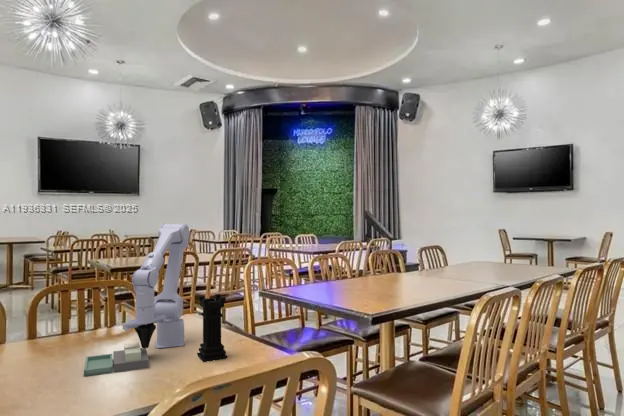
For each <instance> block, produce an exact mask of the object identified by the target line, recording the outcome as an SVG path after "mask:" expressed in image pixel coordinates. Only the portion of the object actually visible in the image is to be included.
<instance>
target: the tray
mask: <svg viewBox="0 0 624 416" xmlns="http://www.w3.org/2000/svg"><path fill="white" fill-rule="evenodd" d="M84 361H85V362H84V369H83V377H90V376H91V377H92V376H99V375H105V374H114V365H113V353H107V354H99V355H98V354H97V355H92V356H89V355H88V356H86V357H85V360H84Z"/></svg>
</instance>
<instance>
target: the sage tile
mask: <svg viewBox="0 0 624 416" xmlns="http://www.w3.org/2000/svg"><path fill="white" fill-rule="evenodd" d="M140 348H141V347H140ZM140 348H135V349H126V350H125V362H130V361H137V360H141V350H140Z"/></svg>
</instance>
